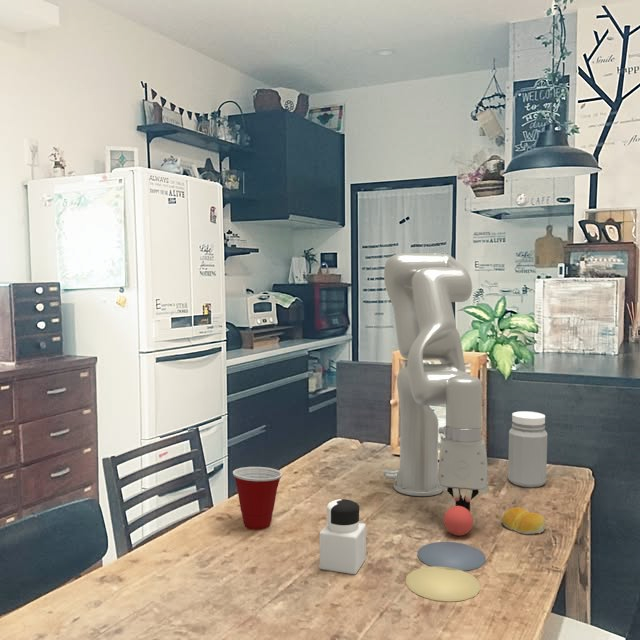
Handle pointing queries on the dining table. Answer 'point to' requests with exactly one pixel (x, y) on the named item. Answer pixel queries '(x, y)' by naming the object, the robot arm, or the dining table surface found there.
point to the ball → (458, 520)
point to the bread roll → (523, 521)
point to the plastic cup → (257, 495)
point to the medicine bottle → (342, 538)
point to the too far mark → (443, 584)
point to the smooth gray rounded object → (451, 556)
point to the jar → (527, 449)
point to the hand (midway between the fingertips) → (462, 517)
